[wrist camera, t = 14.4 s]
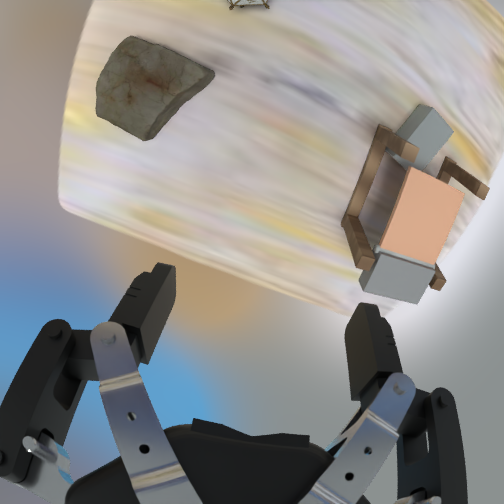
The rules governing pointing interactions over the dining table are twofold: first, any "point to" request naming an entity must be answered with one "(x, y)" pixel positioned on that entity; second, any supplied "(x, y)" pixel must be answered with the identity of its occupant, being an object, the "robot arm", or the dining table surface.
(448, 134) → the slate block
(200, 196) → the dining table surface
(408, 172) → the trapdoor
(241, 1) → the game die
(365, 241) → the frame
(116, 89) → the marble piece
